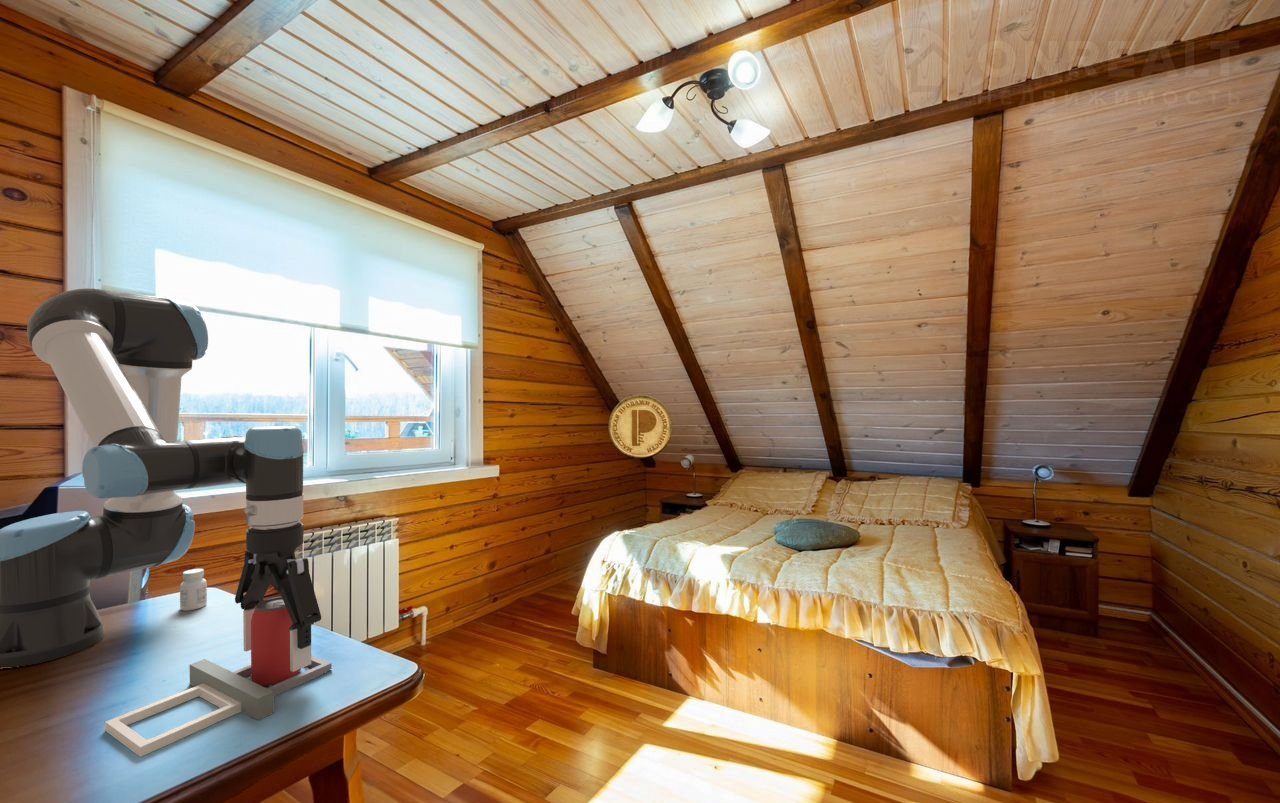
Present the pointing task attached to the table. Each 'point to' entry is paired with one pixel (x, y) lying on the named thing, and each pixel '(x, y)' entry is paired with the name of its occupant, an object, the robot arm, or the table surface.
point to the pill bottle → (193, 590)
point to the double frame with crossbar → (217, 689)
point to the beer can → (270, 643)
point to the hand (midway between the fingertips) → (276, 657)
